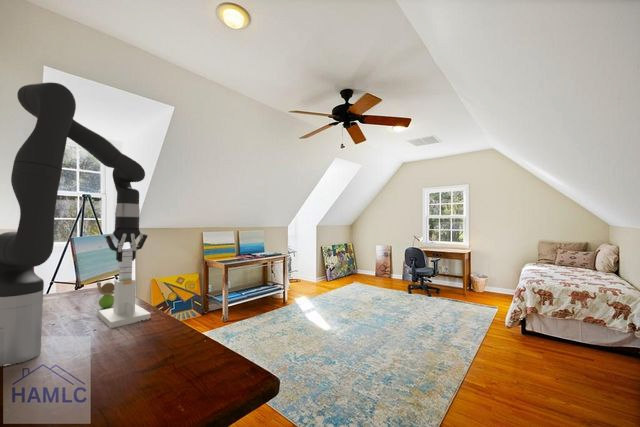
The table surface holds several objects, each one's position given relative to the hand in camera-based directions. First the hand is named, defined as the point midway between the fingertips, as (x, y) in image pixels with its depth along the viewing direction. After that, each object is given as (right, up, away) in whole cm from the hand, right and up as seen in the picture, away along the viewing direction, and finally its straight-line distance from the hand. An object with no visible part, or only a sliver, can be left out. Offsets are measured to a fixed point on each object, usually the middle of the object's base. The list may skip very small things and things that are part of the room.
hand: (126, 261), depth 102 cm
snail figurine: (-16, -21, +10) cm, 28 cm away
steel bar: (0, -12, 0) cm, 12 cm away
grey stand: (0, -21, -1) cm, 21 cm away
